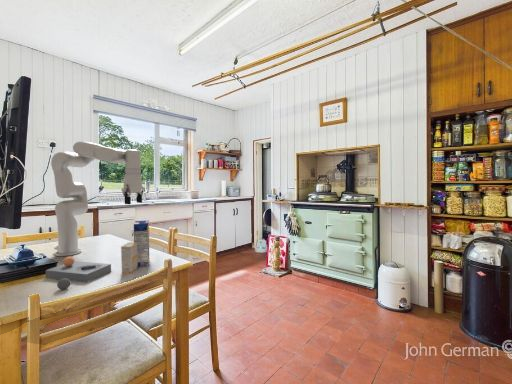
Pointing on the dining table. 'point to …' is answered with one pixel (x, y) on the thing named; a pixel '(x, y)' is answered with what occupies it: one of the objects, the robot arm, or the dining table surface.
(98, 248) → the dining table surface
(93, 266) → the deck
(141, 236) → the beverage box
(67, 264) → the ball
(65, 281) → the ball
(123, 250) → the supplement box
